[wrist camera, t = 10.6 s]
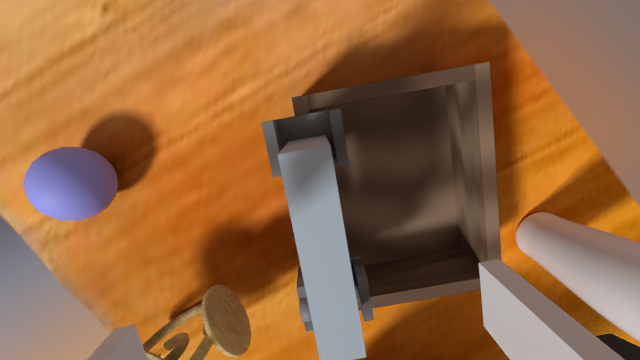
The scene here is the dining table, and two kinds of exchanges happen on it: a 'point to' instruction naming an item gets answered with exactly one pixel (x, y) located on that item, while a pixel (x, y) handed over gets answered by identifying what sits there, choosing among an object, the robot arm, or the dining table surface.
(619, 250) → the drinking glass
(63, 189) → the sphere
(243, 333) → the wall sconce
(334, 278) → the door
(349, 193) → the box
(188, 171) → the dining table surface
